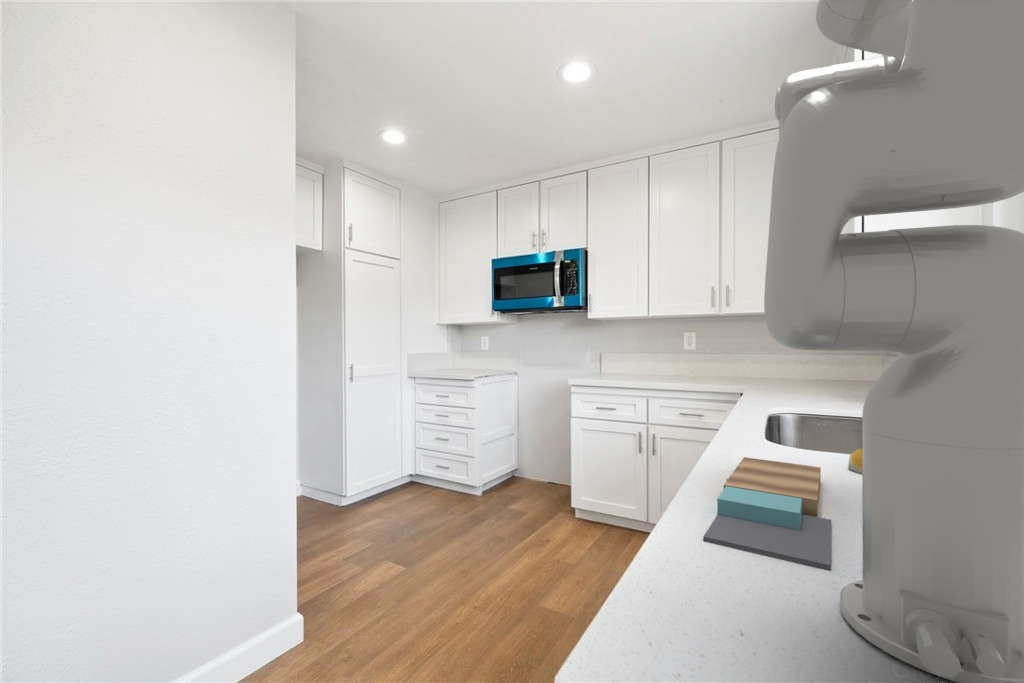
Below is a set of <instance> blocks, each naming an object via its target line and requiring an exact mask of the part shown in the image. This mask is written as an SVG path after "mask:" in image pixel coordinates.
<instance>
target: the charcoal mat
mask: <svg viewBox="0 0 1024 683" xmlns="http://www.w3.org/2000/svg"><path fill="white" fill-rule="evenodd" d="M702 539H703V542H708V543H712V544H717V545H719V546H725V547H728V548H733V549H737V550H742V551H745V552H746V551H747V552H751V553H755V554H758V555H763V556H768V557H770V558H771V557H772V558H776V559H781V560H785V561H790V562H794V563H797V564H802V565H807V566H811V567H815V568H819V569H824V570H827V571H831V570H832V569H831V566H832V557H831V556H832V519H830V518H827V517H826V518H825V517H819V516H817V517H815V516H809V515H803V514H802V518H801V525H800V530H796V529H791V528H786V527H781V526H775V525H770V524H765V523H760V522H755V521H750V520H745V519H740V518H735V517H729V516H724V515H719V514H717V515H716V516H715V518H714V519H713V521H712V522H711V524H710V526H709V527H708V529H707V530H706V532H705V533H704V535H703V538H702Z"/></svg>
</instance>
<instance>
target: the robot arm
mask: <svg viewBox="0 0 1024 683" xmlns="http://www.w3.org/2000/svg"><path fill="white" fill-rule="evenodd" d="M815 11H816V12H815V19H816V25H817V27H818V29H819V32H820V33H821V34H822V35H823V36H824V37H825V38H826V39H828V40H830V42H832V43H835V44H837V45H841V46H842V47H843V46H844V47H846V48H851V49H855V50H859V51H864V52H868V53H873V54H877V55H881V56H878V57H872V58H867V59H865V58H864V59H860V60H855V61H849V62H844V63H837V64H832V65H828V66H823V67H822V66H821V67H816V68H811V69H810V68H809V69H804V70H799V71H796V72H793V73H791V74H790V75H788V76H787V77H786V78H785V79H784V80H783V81H782V83H781V85H780V87H779V88H777V89H776V93H775V98H774V114H775V118H776V120H777V121H778V142H777V146H776V152H775V155H774V156H775V157H774V164H773V165H774V166H773V172H772V173H773V174H772V183H771V194H770V195H771V198H770V211H769V225H768V226H769V227H768V238H767V251H766V252H767V253H766V265H765V278H764V300H763V302H764V303H763V304H764V305H763V306H764V317H765V318H764V319H765V322H766V327H767V330H768V332H769V335H771V337H772V338H773V339H774V340H775V341H776V342H777V343H778V344H780V345H781V346H783V347H787V348H790V349H793V350H801V351H818V352H819V351H822V352H823V351H825V352H826V351H827V352H830V351H831V352H833V351H834V352H836V351H842V352H843V351H847V352H849V351H850V352H851V351H855V352H858V351H862V352H863V351H865V352H866V351H870V352H872V351H873V352H874V351H875V352H877V351H878V352H879V351H880V352H881V351H882V352H886V353H887V352H889V353H899V354H898V356H897V357H896V359H894V361H893V362H892V363H891V365H889V366H888V367H887V368H886V370H885V371H884V372H883V373H882V374H881V376H879V377H878V379H877V380H876V381H875V382H874V383H873V385H872V387H871V388H870V390H869V391H868V393H867V395H866V397H865V400H864V403H863V408H862V417H861V418H862V424H861V425H862V427H861V428H862V431H861V433H862V434H861V435H862V436H861V437H862V438H861V439H862V440H861V441H862V442H861V443H862V444H861V445H862V446H861V447H862V448H861V449H862V474H861V476H862V478H861V479H862V480H861V481H862V484H861V485H862V489H861V490H862V491H861V492H862V493H861V494H862V496H861V497H862V500H861V501H862V504H861V505H862V508H861V509H862V579H861V580H857V581H853V582H851V583H848V584H847V585H845V586H844V587H843V588H842V590H841V591H840V593H839V594H840V596H839V608H840V611H841V614H842V615H843V617H844V618H845V620H846V622H847V623H848V624H849V625H850V626H851V627H852V628H853V629H854V631H856V632H857V633H858V634H859V635H861V636H862V638H864V639H866V641H868V642H870V643H871V644H872V645H874V646H875V647H877V648H879V649H880V650H881V651H883V652H885V653H887V654H889V655H890V656H892V657H895V658H896V659H898V660H900V661H901V662H904V663H906V664H907V665H911V666H913V667H914V668H917V669H919V670H921V671H923V672H926V673H929V674H930V675H931V674H932V675H933V676H937V677H938V678H939V677H940V678H942V679H945V680H948V681H950V682H953V683H1024V232H1021V231H1018V230H1016V229H1012V228H1007V227H1002V226H997V225H996V226H995V225H986V224H985V225H981V224H955V225H953V224H952V225H940V226H939V225H938V226H925V227H924V226H923V227H911V228H909V227H907V228H897V229H895V228H893V229H888V230H877V231H863V232H851V233H849V232H848V233H842V231H843V229H844V228H845V226H846V225H847V223H848V222H850V220H852V219H854V218H857V217H858V218H859V217H863V216H864V217H865V216H877V215H879V216H880V215H890V214H902V213H903V214H904V213H913V212H925V211H927V212H928V211H937V210H938V211H939V210H949V209H958V208H959V209H961V208H967V207H977V206H982V205H988V204H993V203H996V202H1000V201H1004V200H1008V199H1011V198H1013V197H1016V196H1018V195H1019V194H1022V193H1024V0H818V2H817V6H816V10H815Z"/></svg>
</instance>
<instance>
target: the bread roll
mask: <svg viewBox="0 0 1024 683" xmlns="http://www.w3.org/2000/svg"><path fill="white" fill-rule="evenodd" d="M847 466H848V469H849V470H850V471H852V472H854V473H858V474H861V475H862V448H858V449H856V450H854V451H852V453H850V455H849V458H848V465H847Z"/></svg>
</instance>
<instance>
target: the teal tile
mask: <svg viewBox="0 0 1024 683" xmlns="http://www.w3.org/2000/svg"><path fill="white" fill-rule="evenodd" d="M716 501H717V507H716V508H717V512H716V514H717V515H718V514H719V515H724V516H729V517H735V518H740V519H745V520H750V521H755V522H760V523H765V524H770V525H775V526H781V527H786V528H791V529H796V530H800V525H801V518H802V498H796V497H790V496H783V495H777V494H771V493H765V492H759V491H752V490H746V489H740V488H734V487H728V486H726V487H725V488H724V487H723V490H722V492H721V493H720V494H719V495H718V497H717V499H716Z"/></svg>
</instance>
